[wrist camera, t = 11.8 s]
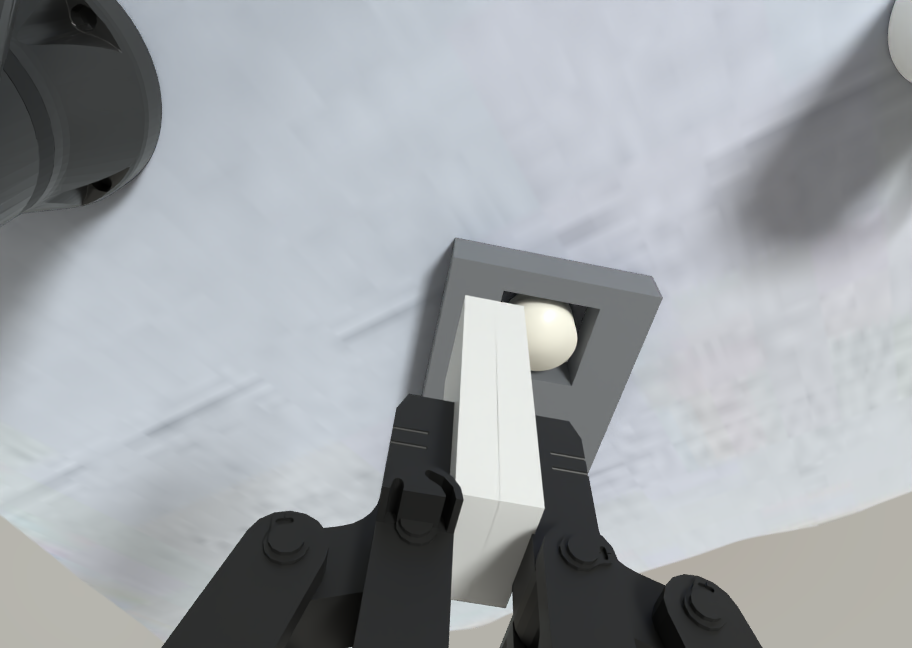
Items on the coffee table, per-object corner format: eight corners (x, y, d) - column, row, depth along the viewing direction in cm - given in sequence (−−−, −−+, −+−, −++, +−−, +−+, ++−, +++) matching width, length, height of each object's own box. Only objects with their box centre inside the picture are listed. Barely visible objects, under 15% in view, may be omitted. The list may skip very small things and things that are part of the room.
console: (393, 529, 59) (388, 556, 57) (455, 237, 44) (453, 256, 41) (539, 553, 60) (542, 581, 58) (652, 276, 45) (662, 297, 42)
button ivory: (493, 343, 48) (494, 363, 45) (510, 283, 45) (511, 301, 43) (561, 356, 48) (565, 376, 46) (582, 296, 45) (586, 315, 43)
